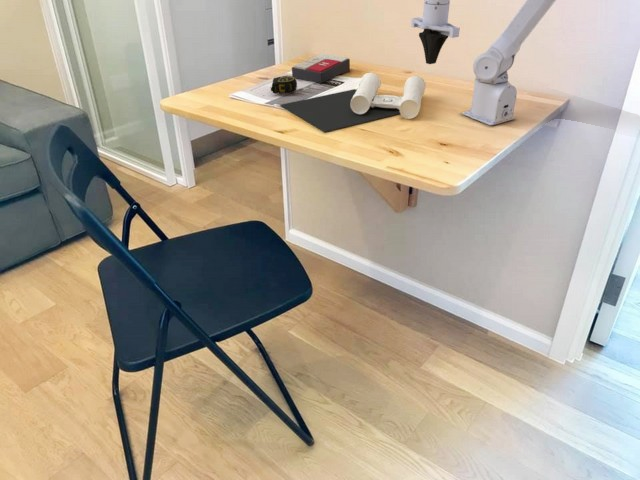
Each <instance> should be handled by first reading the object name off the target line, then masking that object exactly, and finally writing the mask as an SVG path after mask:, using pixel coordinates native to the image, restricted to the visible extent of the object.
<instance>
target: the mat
mask: <svg viewBox="0 0 640 480" xmlns="http://www.w3.org/2000/svg"><path fill="white" fill-rule="evenodd" d="M356 91H357V89H355V88H353V89H350V90H344V91H340V92H335V93H334V92H333V93H329V94H326V95H320V96H315V97H310V98H306V99H301V100H296V101H292V102H286V103H283V104H280V105H279V106H280V107H282V108H283V109H285V110H287V111H288V112H290V113H291V114H292V115H295V116H297V117H298V118H300V119H301V120H303V121H305V122H306V123H308V124H309V125H311V126H313V127H314V128H316V129H318V130H320V131H321V132H323V133H329V132H334V131H337V130H341V129H346V128H349V127H350V128H351V127H355V126H357V125H362V124H366V123H370V122H374V121H379V120H382V119H386V118H391V117H394V116H398V115H399V116H400V115H401V114H400V110H399V109H398V108H383V107H376V106H374V107H371V106H370V108H369V109H368V111H367V112H366V113H364V114H357V113H355V112H353V111H352V109H351V106H350V103H351V99H352V98H353V95H354V94H355V93H356ZM373 100H374V99H372V101H373Z"/></svg>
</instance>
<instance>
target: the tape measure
mask: <svg viewBox="0 0 640 480" xmlns="http://www.w3.org/2000/svg"><path fill="white" fill-rule="evenodd" d="M297 88H298V83H297V78H294V77H292V75H282V76H276V77H273V79H272V83H271V86H270V91H271V92H272V93H273V94H291V93H294V92H295V91H296V90H297Z"/></svg>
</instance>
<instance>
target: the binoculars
mask: <svg viewBox="0 0 640 480" xmlns="http://www.w3.org/2000/svg"><path fill="white" fill-rule="evenodd" d="M381 85H382V79H381V77H380V76H379V75H378V74H377V73H375V72H366V73H365V74H363V75H362V77H361V79H360V81H359V82H358V87H357V89H356V90H357V91H356V93H355V94H354V95H353V98H352V99H351V103H350V106H351V109H352V111H353V112H355V113H357V114H364V113H366V112H367V111H368V109H369V108H370V106H371V107H374V106H376V107H383V108H397V109H399V110H400V114H399V115H401V117H403V118H404V119H409V120H410V119H414V118H415V117H417V116H418V115H419V112H420V110H421V108H422V107H421V104H422V98H423V96H424V95H425V91H426V88H427V85H426V81H425V79H424V78H423V77H421V76H419V75H411V76H409V77H408V78H407V79H406V80H405V82H404V86H403V96H402V95H401V96H397V95H394V94H393V95H391V94H378V92H379V90H380V88H381ZM372 99H374V100H373V101H372Z"/></svg>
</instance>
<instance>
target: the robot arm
mask: <svg viewBox="0 0 640 480" xmlns="http://www.w3.org/2000/svg"><path fill="white" fill-rule="evenodd" d="M556 1H557V0H525V2H524V3H523V4H522V6H521V7H520V9H519V10H518V11H517V13H516V14H515V15H514V17H513V18H512V19H511V21H510V22H509V23H508V25H507V26H506V27H505V29H504V30H503V32H502V33H501V34H500V36H499V37H497V39H496V40H495V41H494V42H493V43H492V44H491V45H490V46H489V47H488V49H487V50H486V51H485V52H483V53H481V54H479V55H478V56H477V57H476V58H475V60H474V62H473V67H472V68H473V73H474V75H475V78H474V85H473V92H472V99H471V105H470V110H465V111H463V112H462V115H463V116H466V117H467V118H471V119H473V120H475V121H478V122H481V123H483V124H485V125H488V126H495V125H498V124H499V125H500V124H502V123H507V122H509V121H513V120H515V116H514V112H515V105H516V101H517V94H518V92H517V88H516V86H515V85H512V84H511V83H510V81H509V74H508V71H509V70H510V69H511V68H512V67H513V65H514V62H515V58H516V55H517V53H518V52H519V51H520V49H521V47H522V45H523V43H524V42H525V41H526V39H527V38H528V37H529V35H531V33H532V32H533V31H534V29H535V28H536V27H537V26H538V24H539V23H540V21H542V19H543V17H545V15H546V14H547V12H549V10H550V9H551V7H552V6H553V5H554V4H555V2H556ZM423 2H424V3H423V12H422V18H421V17H413V18H411V23H410V26H411V28H418V29H420V30H421V29H422V30H423V31H422V32H419V33H418V37H419V39H420V42H421V44H422V47H423V52H424V59H425V64H427V65H434V64H436V63H437V60H438V58H439V56H440V53H441V49H442V48H443V46H444V44H445V42H446V41H447V40H448V38H450V39H451V38H452V39H453V38H458V37H460V27H458V26H455V25H453V24H451V23H449V13H450V5H451V4H450V2H451V0H424V1H423Z"/></svg>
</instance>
